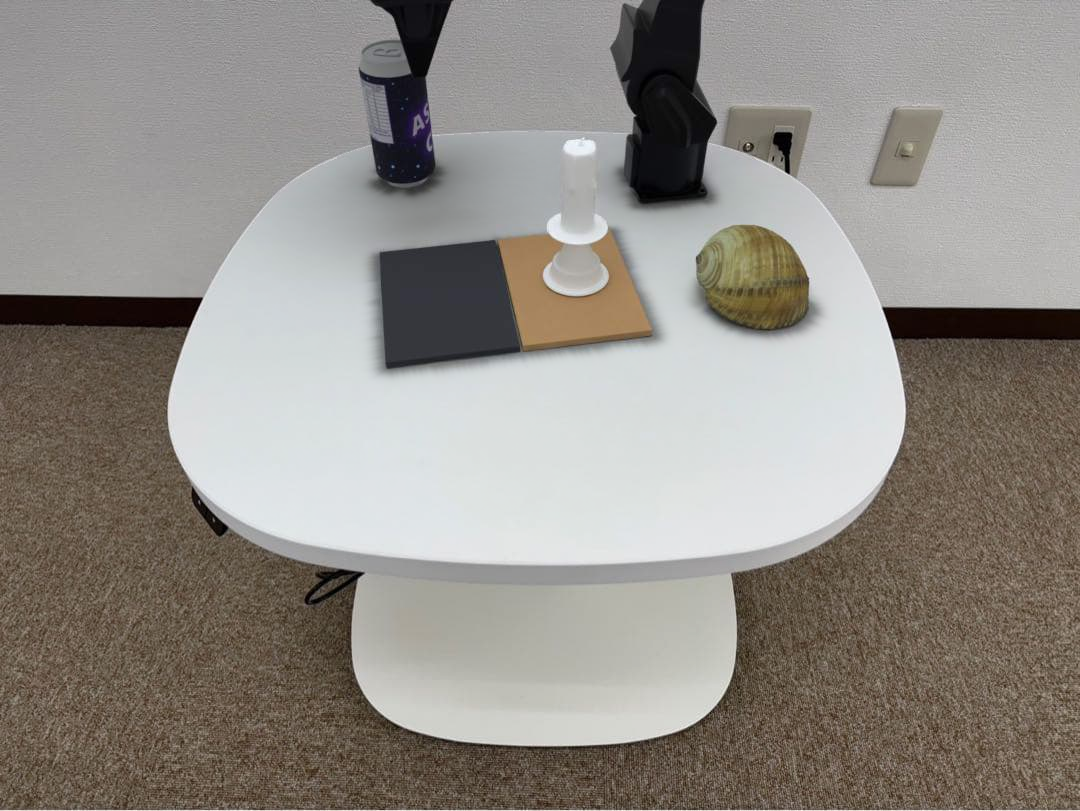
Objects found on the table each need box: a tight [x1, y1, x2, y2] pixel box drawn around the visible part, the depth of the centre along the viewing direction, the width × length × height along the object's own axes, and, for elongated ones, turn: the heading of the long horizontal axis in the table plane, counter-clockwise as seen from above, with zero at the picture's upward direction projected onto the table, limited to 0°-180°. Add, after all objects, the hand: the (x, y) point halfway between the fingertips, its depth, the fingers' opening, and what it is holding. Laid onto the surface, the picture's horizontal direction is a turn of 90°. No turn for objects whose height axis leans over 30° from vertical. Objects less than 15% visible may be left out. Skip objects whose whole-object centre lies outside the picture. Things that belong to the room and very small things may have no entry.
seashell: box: [695, 224, 810, 331], centre depth 62 cm, size 10×7×8 cm
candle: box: [543, 136, 609, 296], centre depth 60 cm, size 5×5×12 cm
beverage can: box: [358, 39, 437, 189], centre depth 73 cm, size 6×6×12 cm
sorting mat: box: [379, 227, 653, 369], centre depth 64 cm, size 20×14×1 cm
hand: (414, 53), depth 65 cm, fingers open, 9 cm apart
